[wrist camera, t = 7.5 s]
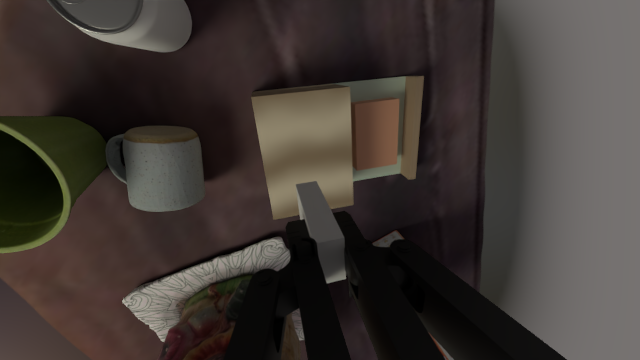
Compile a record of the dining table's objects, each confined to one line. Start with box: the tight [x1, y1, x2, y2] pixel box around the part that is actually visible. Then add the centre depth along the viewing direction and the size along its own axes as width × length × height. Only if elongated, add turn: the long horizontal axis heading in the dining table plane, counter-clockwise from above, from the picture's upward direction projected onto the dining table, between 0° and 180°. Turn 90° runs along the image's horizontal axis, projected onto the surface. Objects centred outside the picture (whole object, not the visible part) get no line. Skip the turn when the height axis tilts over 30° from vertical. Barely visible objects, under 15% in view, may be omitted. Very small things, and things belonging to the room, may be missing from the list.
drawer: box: [333, 76, 424, 181], centre depth 35 cm, size 14×11×3 cm
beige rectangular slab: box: [251, 84, 354, 220], centre depth 31 cm, size 14×10×7 cm
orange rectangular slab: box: [351, 97, 399, 171], centre depth 35 cm, size 9×6×2 cm, turn 5°
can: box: [47, 0, 192, 52], centre depth 21 cm, size 6×6×12 cm
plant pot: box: [0, 116, 107, 253], centre depth 24 cm, size 12×12×11 cm
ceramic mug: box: [105, 126, 205, 212], centre depth 28 cm, size 11×8×8 cm
